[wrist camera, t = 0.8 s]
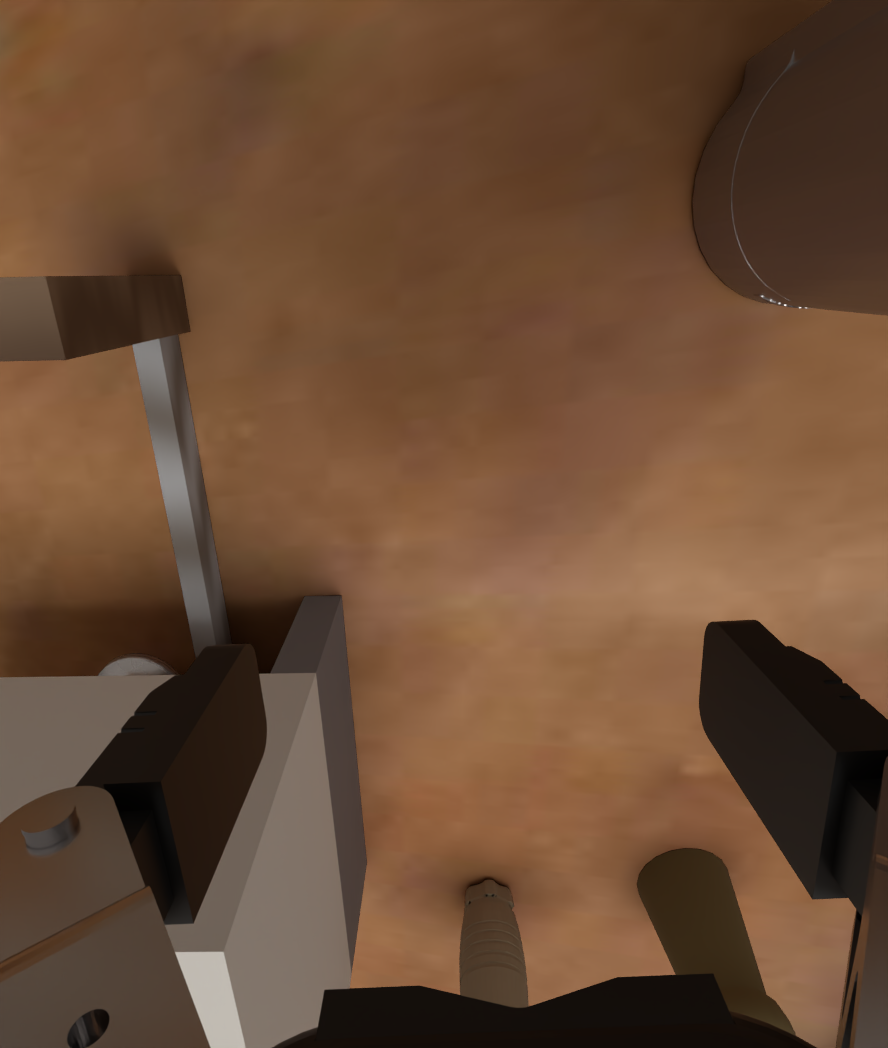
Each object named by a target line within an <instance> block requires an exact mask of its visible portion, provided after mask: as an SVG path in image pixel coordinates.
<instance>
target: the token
mask: <svg viewBox="0 0 888 1048" xmlns="http://www.w3.org/2000/svg"><path fill="white" fill-rule="evenodd" d="M134 675H180V674H179V673H178V672H177V671H176V670H175V669H174V668H173V667H172V666H171V665H169V664H168V663H166V662H165V661H163V660H161V659H159V658H157V657H154V656H151V655H147V654H140V653H132V654H125V655H122V656H119V657H117V658H115V659H113V660H112V661H110V662H109V663H108V664H107V665H106V666H105V667H104V668H103V670H102V671H101V672H100V673H99V675H98V676H134Z"/></svg>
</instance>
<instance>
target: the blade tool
mask: <svg viewBox="0 0 888 1048" xmlns="http://www.w3.org/2000/svg"><path fill="white" fill-rule="evenodd" d="M186 332H190V326H189V320H188V314H187V308H186V302H185V296H184V290H183V285H182V279H181V275H148V276H45V277H3V278H0V361H39V360H68V359H72V358H76V357H81V356H85V355H90V354H94V353H98V352H103V351H107V350H111V349H116V348H120V347H125V346H129V345H133V350H134V355H135V360H136V365H137V370H138V375H139V380H140V385H141V390H142V395H143V400H144V405H145V409H146V414H147V419H148V424H149V429H150V434H151V439H152V444H153V449H154V454H155V459H156V464H157V469H158V474H159V479H160V484H161V489H162V493H163V498H164V503H165V508H166V513H167V518H168V523H169V528H170V533H171V538H172V543H173V548H174V553H175V558H176V563H177V568H178V573H179V577H180V582H181V587H182V592H183V597H184V602H185V607H186V612H187V617H188V622H189V627H190V632H191V637H192V642H193V647H194V652H195V656H196V658H197V657H198V656H199V654H200V653H201V651H202V650H203V649H204V648H205V647H206V646H211V645H231V644H232V641H231V636H230V630H229V624H228V618H227V613H226V607H225V601H224V596H223V590H222V584H221V578H220V573H219V567H218V561H217V555H216V550H215V544H214V538H213V533H212V527H211V521H210V515H209V510H208V504H207V498H206V493H205V487H204V481H203V475H202V470H201V464H200V458H199V453H198V447H197V441H196V435H195V430H194V424H193V418H192V413H191V407H190V401H189V395H188V390H187V384H186V378H185V373H184V367H183V361H182V355H181V350H180V344H179V338H178V334H182V333H186Z"/></svg>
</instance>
